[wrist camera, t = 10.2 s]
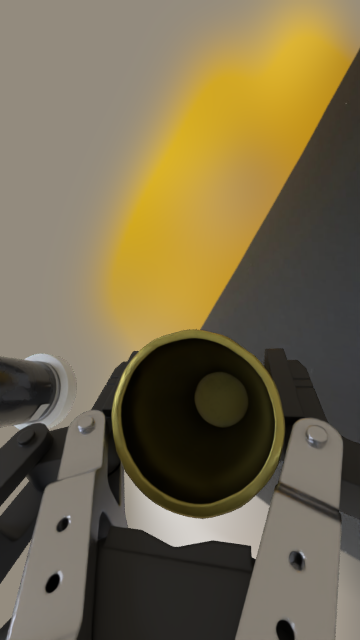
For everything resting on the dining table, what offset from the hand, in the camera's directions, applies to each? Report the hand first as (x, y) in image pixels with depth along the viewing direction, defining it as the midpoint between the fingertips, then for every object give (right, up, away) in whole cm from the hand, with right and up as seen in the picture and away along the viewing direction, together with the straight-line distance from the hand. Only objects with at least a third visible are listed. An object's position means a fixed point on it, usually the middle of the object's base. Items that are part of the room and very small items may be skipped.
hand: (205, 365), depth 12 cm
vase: (+2, -4, +9) cm, 11 cm away
